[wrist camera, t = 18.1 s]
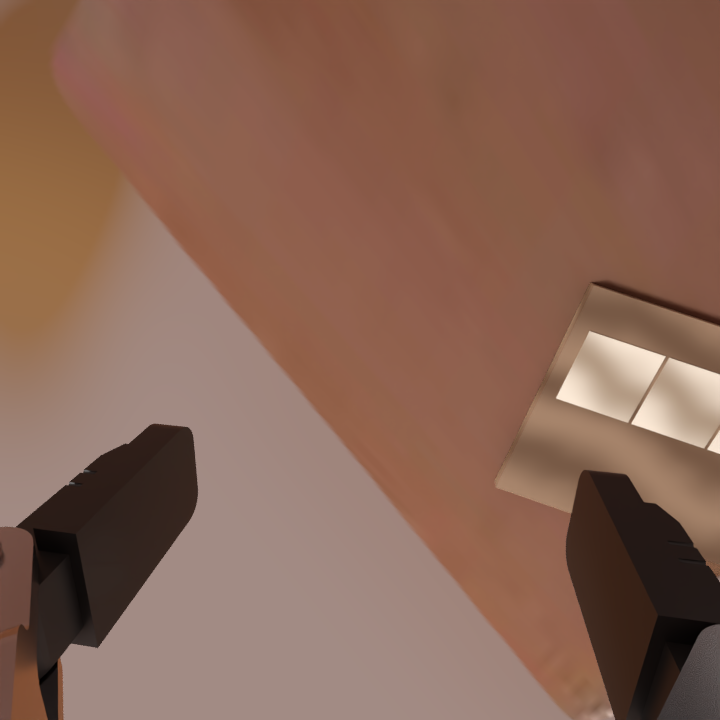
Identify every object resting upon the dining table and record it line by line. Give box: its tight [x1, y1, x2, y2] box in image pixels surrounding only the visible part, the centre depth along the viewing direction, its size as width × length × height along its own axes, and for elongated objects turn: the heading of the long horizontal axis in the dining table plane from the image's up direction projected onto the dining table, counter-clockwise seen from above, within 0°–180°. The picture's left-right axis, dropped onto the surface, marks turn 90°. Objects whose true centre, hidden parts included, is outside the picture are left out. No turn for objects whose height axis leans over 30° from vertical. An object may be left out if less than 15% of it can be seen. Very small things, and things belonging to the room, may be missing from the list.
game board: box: [495, 282, 720, 565], centre depth 40 cm, size 18×26×1 cm
